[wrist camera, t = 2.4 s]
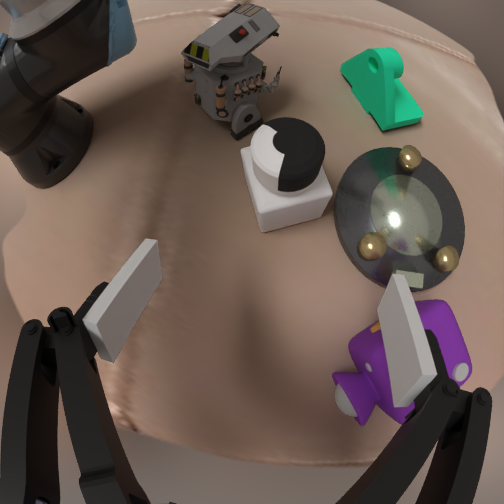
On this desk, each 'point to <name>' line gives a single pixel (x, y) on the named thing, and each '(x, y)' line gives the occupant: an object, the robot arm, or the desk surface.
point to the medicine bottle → (286, 173)
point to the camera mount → (382, 87)
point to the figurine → (232, 67)
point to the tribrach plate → (399, 218)
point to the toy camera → (376, 368)
